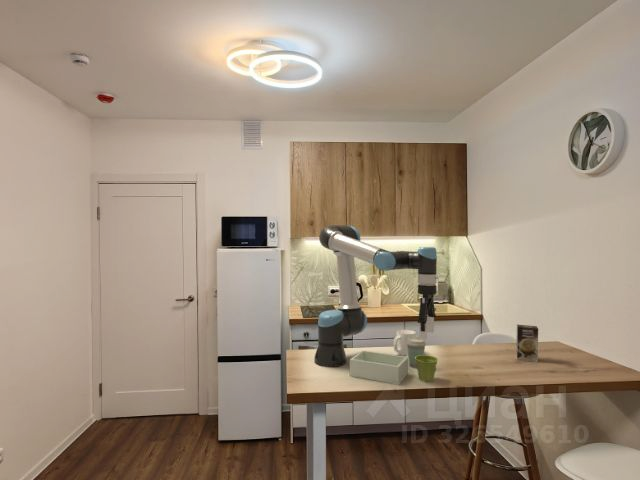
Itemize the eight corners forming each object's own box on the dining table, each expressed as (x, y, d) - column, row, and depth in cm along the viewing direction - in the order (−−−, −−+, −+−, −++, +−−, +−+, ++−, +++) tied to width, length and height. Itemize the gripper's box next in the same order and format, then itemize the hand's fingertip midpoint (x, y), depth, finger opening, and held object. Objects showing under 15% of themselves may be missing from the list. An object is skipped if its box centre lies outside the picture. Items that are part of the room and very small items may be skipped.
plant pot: (442, 382, 163) (442, 361, 163) (420, 384, 161) (421, 362, 161) (431, 374, 172) (431, 354, 172) (410, 376, 170) (411, 355, 170)
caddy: (349, 375, 169) (349, 359, 169) (362, 365, 183) (362, 350, 183) (398, 384, 160) (398, 366, 160) (408, 373, 173) (408, 357, 173)
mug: (403, 358, 195) (403, 336, 195) (387, 353, 203) (387, 332, 203) (421, 353, 203) (421, 332, 203) (405, 349, 211) (405, 328, 211)
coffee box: (516, 360, 193) (517, 326, 193) (515, 356, 199) (516, 324, 199) (538, 362, 190) (538, 328, 190) (536, 358, 196) (536, 325, 196)
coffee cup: (426, 369, 178) (426, 342, 178) (406, 368, 180) (406, 341, 180) (425, 363, 186) (425, 338, 186) (406, 362, 188) (406, 337, 188)
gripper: (430, 288, 153) (429, 343, 153) (442, 282, 175) (441, 330, 175) (410, 286, 157) (410, 341, 157) (424, 281, 179) (424, 328, 179)
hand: (426, 335), depth 166 cm, fingers open, 13 cm apart
